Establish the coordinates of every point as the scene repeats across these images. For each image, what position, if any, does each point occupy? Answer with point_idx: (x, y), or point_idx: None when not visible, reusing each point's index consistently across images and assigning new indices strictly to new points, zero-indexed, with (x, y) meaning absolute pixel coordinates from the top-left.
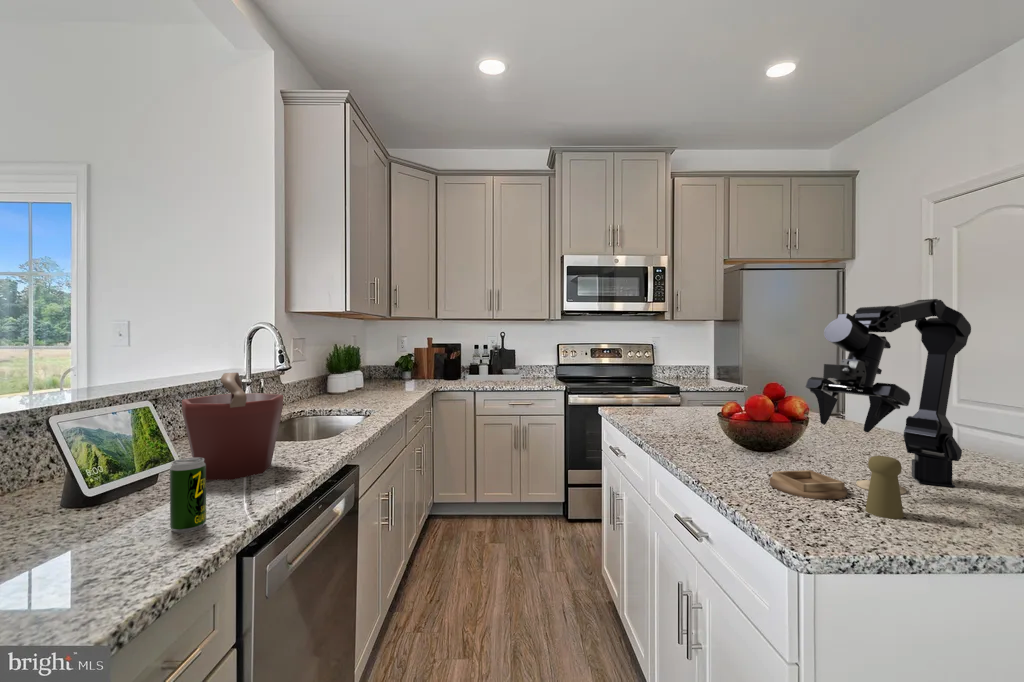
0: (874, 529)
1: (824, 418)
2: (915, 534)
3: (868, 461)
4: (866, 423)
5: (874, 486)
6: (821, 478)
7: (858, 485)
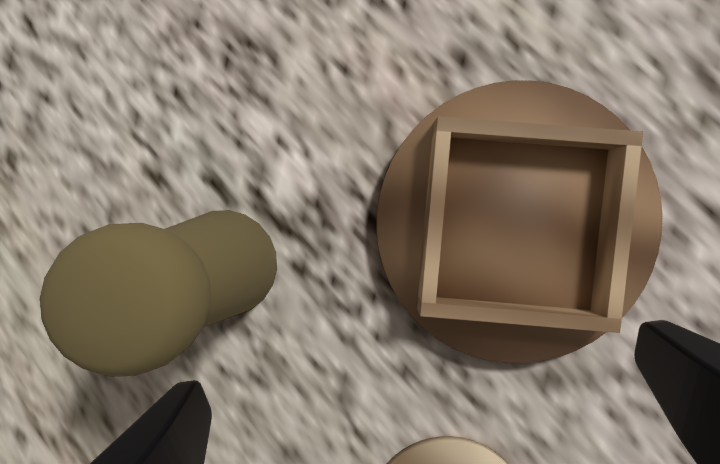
0: (114, 95)
1: (684, 375)
2: (59, 184)
3: (189, 262)
4: (137, 433)
5: (181, 226)
6: (529, 307)
7: (482, 446)
